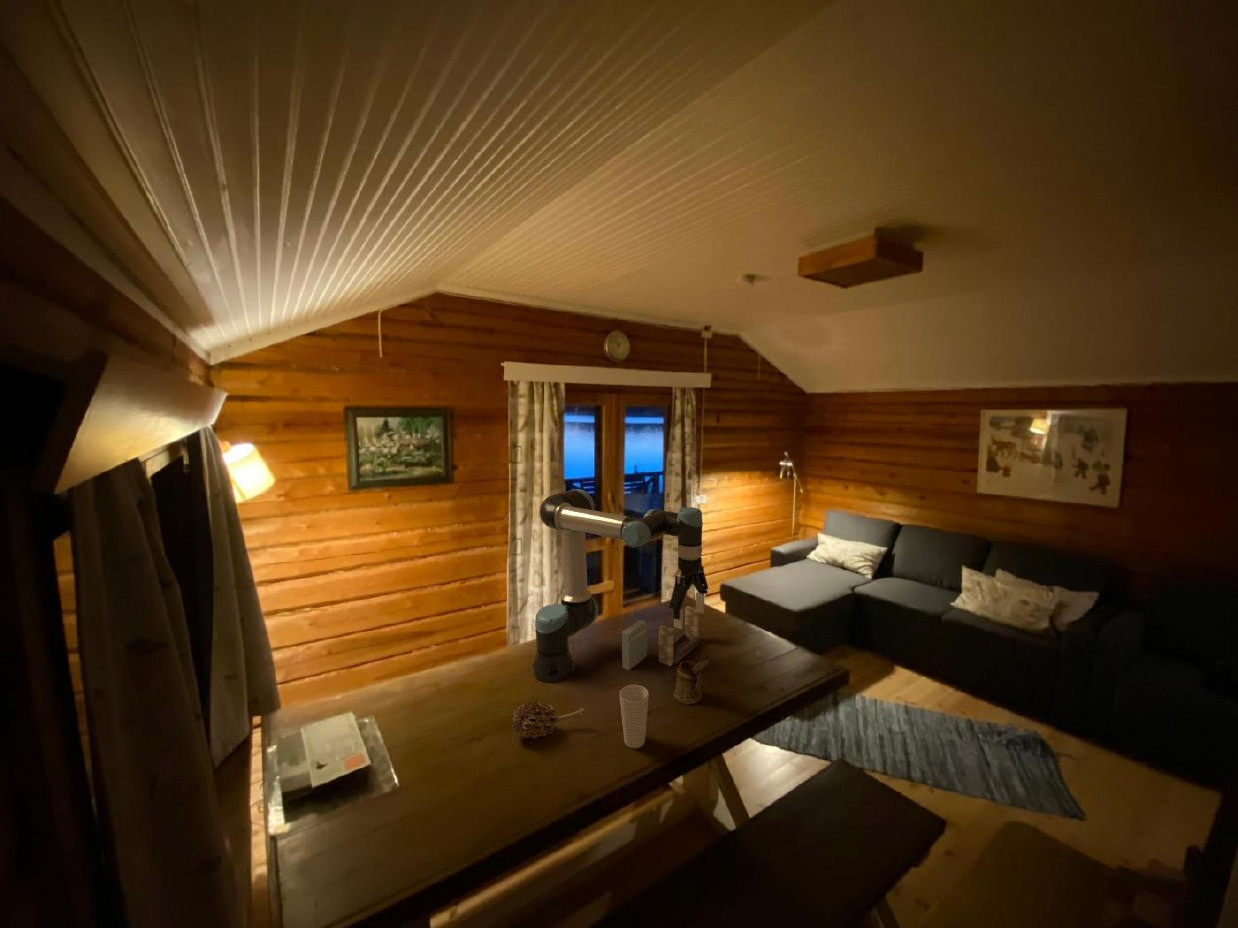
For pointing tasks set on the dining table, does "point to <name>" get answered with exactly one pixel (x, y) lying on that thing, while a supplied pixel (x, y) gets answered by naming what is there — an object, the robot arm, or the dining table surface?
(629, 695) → the cup
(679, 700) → the wooden mug
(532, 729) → the dried seed pod
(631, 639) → the door panel
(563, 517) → the robot arm
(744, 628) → the dining table surface
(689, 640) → the u-shaped holder
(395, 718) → the dining table surface
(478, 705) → the dining table surface
